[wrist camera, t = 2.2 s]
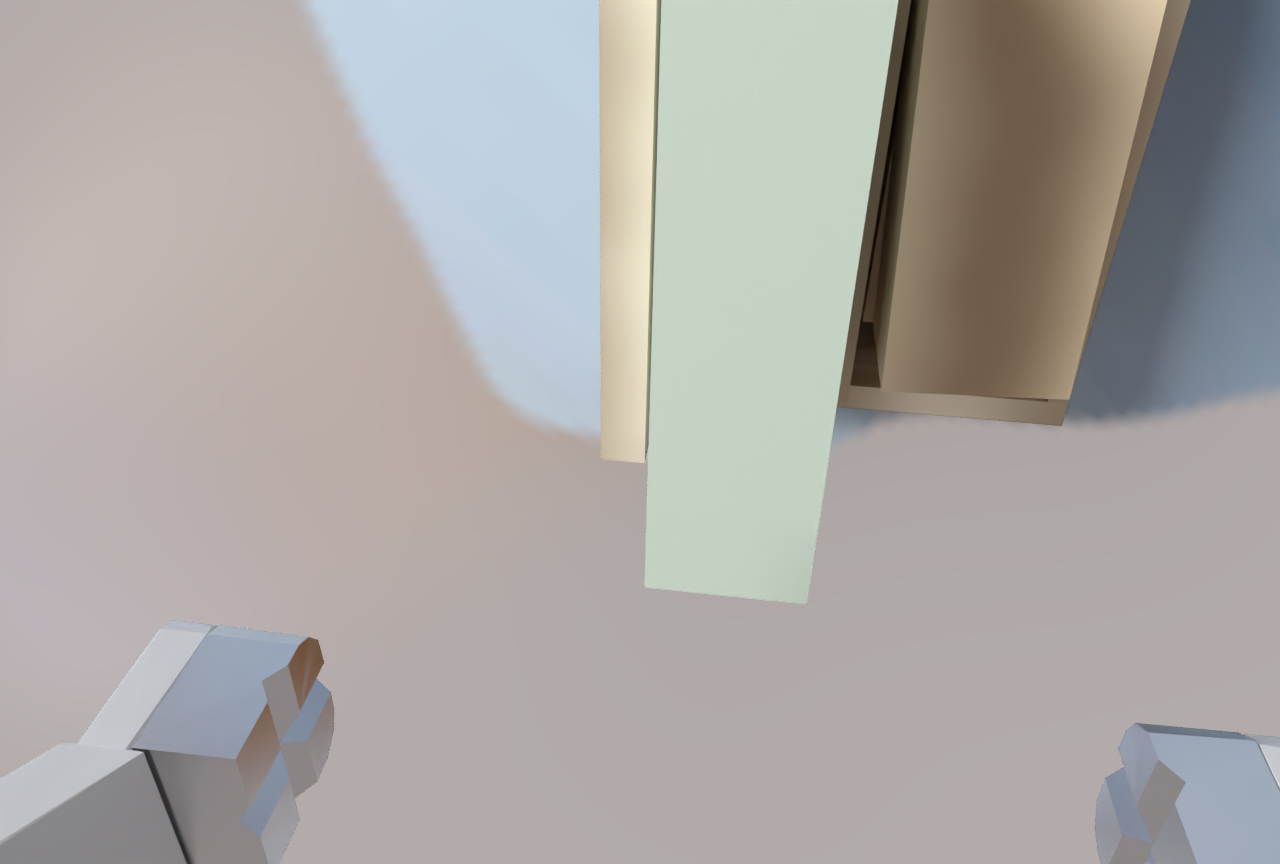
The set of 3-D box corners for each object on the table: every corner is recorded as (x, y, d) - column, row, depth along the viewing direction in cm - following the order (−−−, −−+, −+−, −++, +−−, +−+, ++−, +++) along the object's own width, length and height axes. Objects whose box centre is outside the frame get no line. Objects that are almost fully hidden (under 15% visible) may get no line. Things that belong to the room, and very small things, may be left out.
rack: (1198, -275, 25) (1390, -286, 17) (1030, 346, 35) (1101, 529, 27) (661, -286, 26) (598, -300, 18) (646, 316, 36) (601, 482, 28)
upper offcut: (1148, -167, 24) (1204, -153, 20) (1041, 329, 31) (1069, 399, 27) (927, -162, 24) (946, -148, 21) (872, 323, 31) (880, 391, 28)
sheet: (862, -199, 27) (920, -148, 14) (804, 280, 35) (806, 604, 22) (731, -202, 27) (665, -156, 14) (703, 273, 35) (644, 587, 22)
